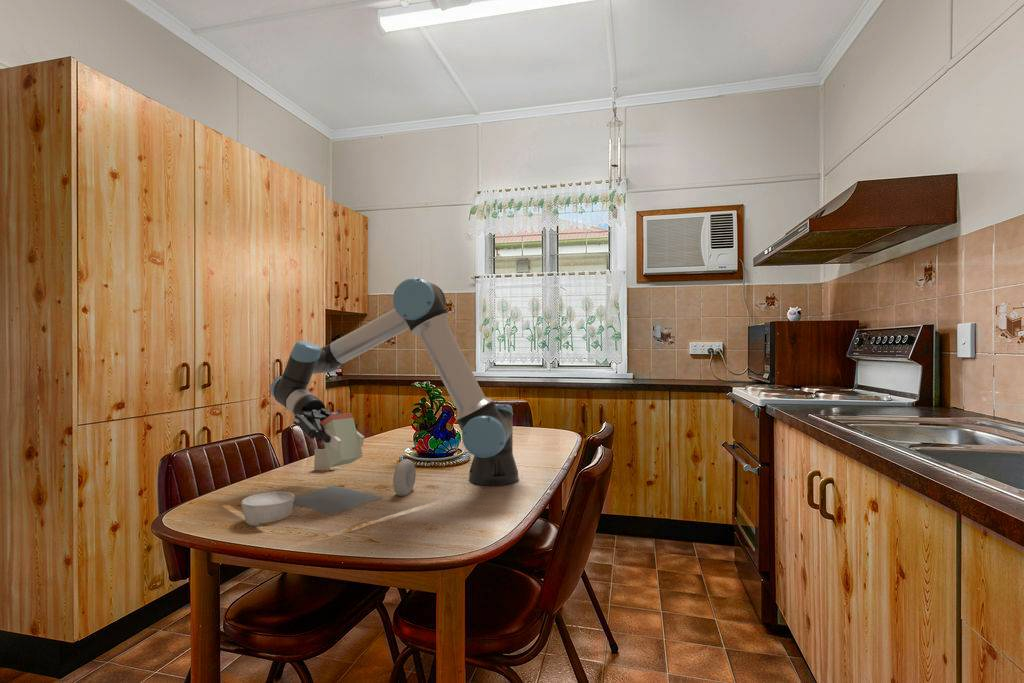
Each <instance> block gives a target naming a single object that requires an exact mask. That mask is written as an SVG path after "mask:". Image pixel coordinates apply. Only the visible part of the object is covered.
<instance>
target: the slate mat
mask: <svg viewBox="0 0 1024 683" xmlns="http://www.w3.org/2000/svg"><path fill="white" fill-rule="evenodd" d="M379 499H383V496H380V495H375V494H372V493H367V492H363V491H359V490H354V489H350V488H345V487H341V486H339V485H337V486H336V485H331V486H325V487H324V488H320V489H317V490H313V491H310V492H306V493H303V494H299V495H296V496H295V500H294V502H293V505H296V506H298V507H299V506H300V507H303V508H307V509H311V510H312V511H313V510H314V511H317V512H319V513H322V514H327V515H331V516H334V515H336V514H340V513H342V512H344V511H348V510H351V509H353V508H356V507H359V506H362V505H365V504H368V503H370V502H373V501H378V500H379Z"/></svg>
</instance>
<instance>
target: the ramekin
mask: <svg viewBox="0 0 1024 683" xmlns="http://www.w3.org/2000/svg"><path fill="white" fill-rule="evenodd" d="M294 500H295V494H294V493H292V492H288V491H283V490H282V491H266V492H260V493H255V494H252V495H249V496H247V497H245V498H243V499H242V501H241V507H242V512H243V515H244V519H245V523H247V524H248V525H249V526H252V527H258V528H259V527H260V528H262V527H264V523H265V524H267V523H271V522H277V521H281V520H284V519H285V518H288V517H289V516H290V515H291V514H292V512H293V506H294V504H293V502H294Z"/></svg>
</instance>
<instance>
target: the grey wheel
mask: <svg viewBox="0 0 1024 683" xmlns="http://www.w3.org/2000/svg"><path fill="white" fill-rule="evenodd" d="M416 477H417V474H416V467H415V463H414V462H413V461H412V460H410V459H407V458H406V459H402V460H401V461H399V462H398V463H397V465H396V467H395V470H394V471H393V478H392V486H393V491H394V493H395V494H396V496H400V497H404V496H407V495H409V494H411V492H412V491H413V489H414V486H415V482H416Z"/></svg>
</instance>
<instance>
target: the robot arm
mask: <svg viewBox="0 0 1024 683" xmlns="http://www.w3.org/2000/svg"><path fill="white" fill-rule="evenodd" d="M392 304H393V308H394V309H391V310H389V311H388V312H386V313H384V314H382V315H381V316H378V317H377V318H375V319H373V320H372V321H369V322H368V323H366V324H364V325H362V326H360V327H358V328H356V329H355V330H353V331H351V332H349V333H347V334H344V335H343V336H341V337H340V338H338V339H336V340H334V341H332V342H331V343H329V344H327V345H325V346H323V347H320V346H319V345H317V344H315V343H312V342H309V341H303V340H298V341H297V342H295V344H294V345H293V348H292V350H291V351H290V355H289V358H288V359H287V362H286V366H285V369H284V371H283V373H282V375H281V376H278V377H276V378H275V380H274V381H272V382H271V384H270V394H271V396H272V397H273V398H274V400H276V402H277V403H279V404H280V405H282V406H283V407H284V408H285V409H286V410H288V411H289V412H290V413H291V414H292V415H293V416H294V417H293V418H294V419H293V422H292V423H293V425H295V426H298V428H299V429H300V430H302V431H303V432H304V433H305V435H306V436H307V437H308V438H309V439H316V441H317V442H322V441H323V443H324V442H326V443H328V444H329V445H330V446H331V447H333V448H334V449H335V450H336V451H338V450H339V449H340V444H341V440H340V439H339V438H338V437H336V436H335V435H334V434H333V433H332V432H330V431H329V430H328V429H326V430H325V432H324V428H323V426H322V425H321V424H320V422H321V421H323V420H324V419H326V418H327V417H328V416H330V415H332V414H341V413H343V411H342V410H341V409H337V410H336V411H333V412H332V411H331V410H330V409H327V408H326V406H325V403H324V402H323V401H322V400H321V399H319V398H318V397H317V396H316V395H315V394H313V393H312V392H310V391H309V390H308V389H307V388H308V386H309V384H310V381H311V378H312V377H313V375H314V374H326V373H328V374H329V373H332V372H334V371H337V370H338V369H339V368H340V366H341V365H343V364H344V363H346V362H348V361H350V360H352V359H354V358H356V357H358V356H360V355H362V354H364V353H366V352H367V351H370V350H371V349H374V348H376V347H377V346H379V345H381V344H383V343H384V342H387V341H388V340H390V339H392V338H394V337H396V336H398V335H400V334H402V333H403V332H405V331H408V330H410V332H411V334H414V335H416V336H419V337H420V340H421V343H422V344H423V346H424V347H425V349H426V352H427V354H428V355H429V357H430V360H431V361H432V363H433V365H434V367H435V369H436V371H437V373H438V375H439V377H440V379H441V381H442V383H443V384H444V386H445V389H446V390H447V393H448V394H449V397H450V398H451V401H452V403H453V405H454V407H455V408H456V411H457V413H456V417H455V420H456V422H457V424H458V426H459V429H460V431H461V438H462V444H463V446H464V447H465V450H467V451H468V452H469V453H470V454H471V455H472V456H473V459H472V462H471V465H470V467H469V468H470V469H469V471H468V480H469V481H470V482H471V483H473V484H477V485H481V486H491V487H492V486H494V487H495V486H506V485H510V484H513V483H515V482H517V481H518V480H519V469H518V468H517V464H516V460H515V456H514V454H513V452H514V451H513V444H514V443H513V442H514V441H513V439H514V438H513V423H514V422H513V420H514V419H513V416H514V412H513V406H512V405H510V404H496V403H495V402H494V400H493V399H491V398H490V397H489V398H488V397H486V395H485V394H484V392H483V390H482V388H481V387H480V385H479V383H478V380H477V378H476V376H475V375H474V373H473V370H472V368H471V366H470V365H469V362H468V361H467V359H466V357H465V355H464V353H463V351H462V350H461V347H460V345H459V344H458V342H457V340H456V337H455V336H454V333H453V332H452V329H451V327H450V326H449V324H448V319H449V316H450V314H449V312H448V310H447V308H446V307H447V299H446V296H445V293H444V291H443V290H442V288H440V287H439V285H436V284H435V283H432V282H430V281H428V280H426V279H424V278H421V277H409V278H407V279H405V280H403V281H401V282H400V283H398V285H397V286H396V288H395V290H394V292H393V295H392ZM354 423H355V427H356V431H357V435H358V439H359V442H360V446H361V447H363V445H364V441H365V436H364V435H363V434H362V433H360V431H358V425H359V423H357V421H355V420H354Z"/></svg>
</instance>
